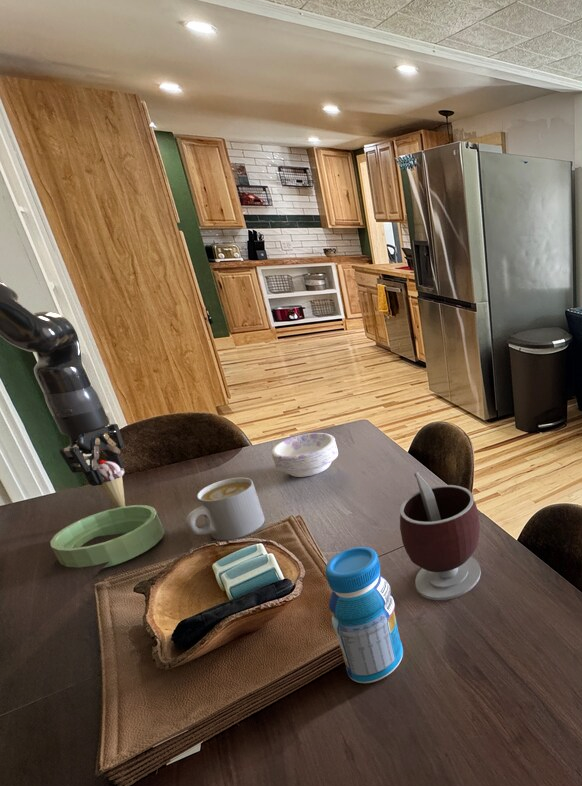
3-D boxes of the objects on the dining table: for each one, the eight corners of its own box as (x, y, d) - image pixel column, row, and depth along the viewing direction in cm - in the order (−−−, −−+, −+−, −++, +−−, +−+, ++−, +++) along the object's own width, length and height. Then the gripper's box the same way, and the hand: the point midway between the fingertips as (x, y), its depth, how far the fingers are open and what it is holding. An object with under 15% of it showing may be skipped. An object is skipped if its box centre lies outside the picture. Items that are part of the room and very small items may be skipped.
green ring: (41, 581, 91) (27, 555, 89) (98, 533, 105) (87, 510, 103) (138, 567, 95) (126, 543, 92) (180, 523, 109) (171, 501, 106)
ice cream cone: (102, 521, 109) (75, 464, 103) (130, 508, 114) (106, 452, 108) (121, 525, 108) (95, 467, 102) (148, 511, 113) (125, 455, 107)
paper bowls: (285, 489, 122) (277, 462, 119) (273, 468, 133) (265, 442, 130) (347, 470, 132) (341, 444, 129) (332, 451, 142) (326, 427, 139)
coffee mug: (254, 509, 114) (242, 473, 110) (272, 523, 109) (260, 486, 105) (185, 537, 104) (169, 498, 100) (201, 554, 98) (185, 514, 95)
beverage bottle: (370, 695, 69) (342, 589, 62) (334, 671, 73) (304, 568, 65) (416, 653, 76) (396, 553, 69) (381, 632, 80) (358, 535, 72)
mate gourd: (498, 578, 92) (489, 490, 85) (430, 615, 84) (413, 521, 76) (460, 542, 103) (449, 460, 95) (396, 571, 94) (378, 484, 86)
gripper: (80, 398, 106) (110, 464, 112) (26, 423, 93) (63, 495, 100) (120, 395, 108) (147, 460, 114) (73, 419, 95) (106, 491, 101)
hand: (108, 476), depth 107 cm, fingers open, 6 cm apart
